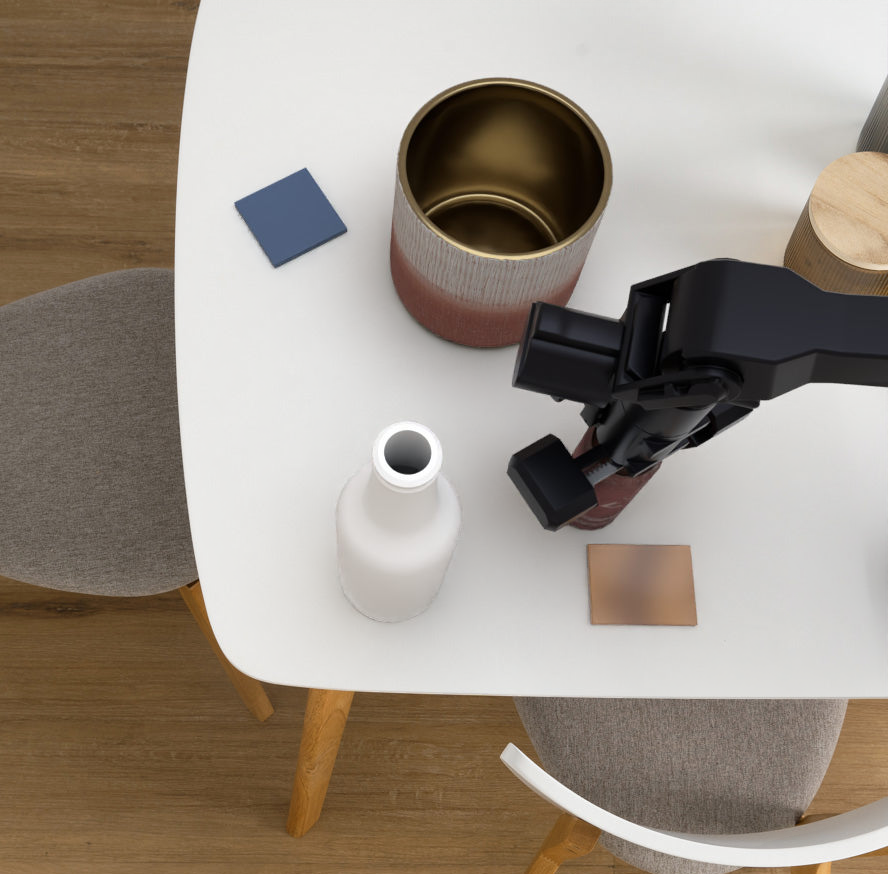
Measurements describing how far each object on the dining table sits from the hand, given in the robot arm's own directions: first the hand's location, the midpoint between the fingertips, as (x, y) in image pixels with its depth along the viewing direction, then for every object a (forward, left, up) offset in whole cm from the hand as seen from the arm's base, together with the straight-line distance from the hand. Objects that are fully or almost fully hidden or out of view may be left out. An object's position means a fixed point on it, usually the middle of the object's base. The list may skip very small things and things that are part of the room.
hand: (602, 472), depth 80 cm
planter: (-5, -24, -7) cm, 25 cm away
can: (0, 0, -7) cm, 7 cm away
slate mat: (+8, -38, -7) cm, 39 cm away
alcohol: (+18, -3, -7) cm, 20 cm away
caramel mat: (0, +9, -7) cm, 11 cm away
